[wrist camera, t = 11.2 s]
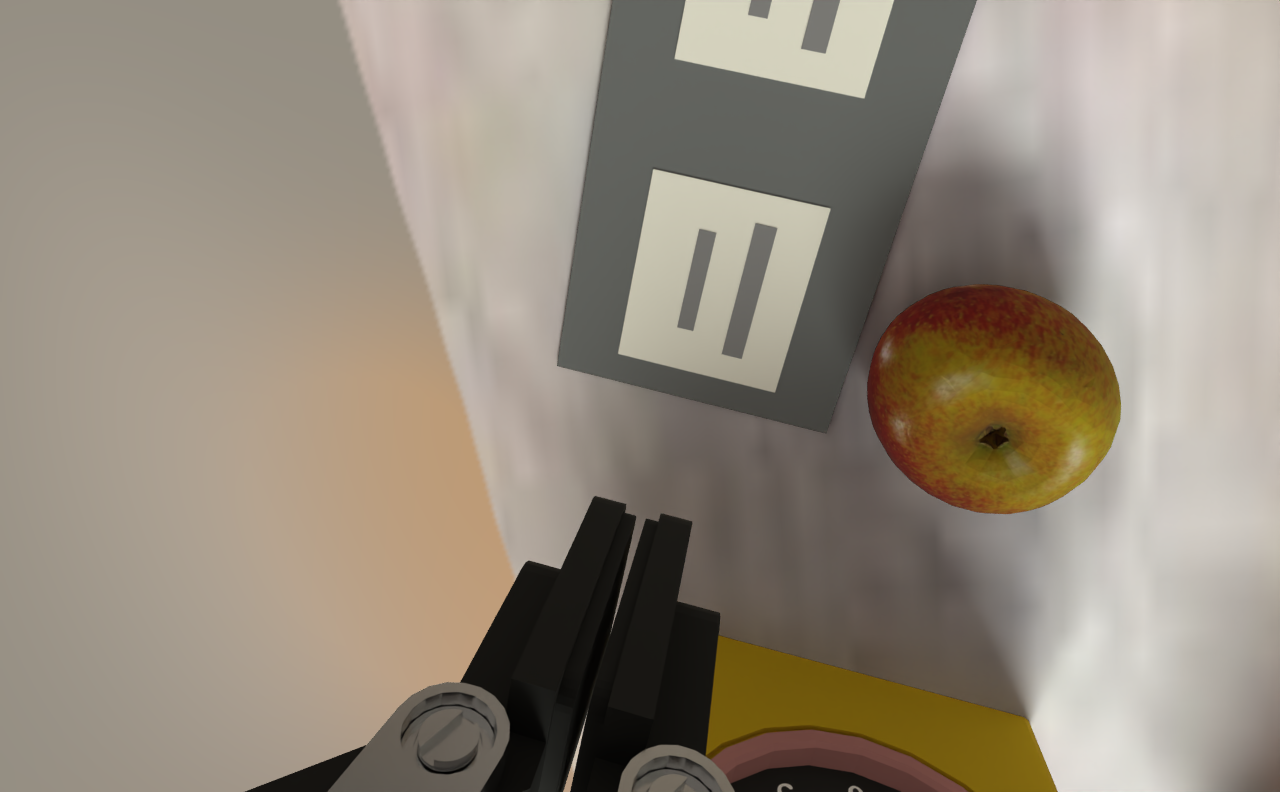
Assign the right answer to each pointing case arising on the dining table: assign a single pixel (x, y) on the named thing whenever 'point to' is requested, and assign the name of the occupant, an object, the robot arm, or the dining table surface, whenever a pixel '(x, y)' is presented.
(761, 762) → the alarm clock
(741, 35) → the label mat
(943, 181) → the dining table surface
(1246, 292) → the dining table surface
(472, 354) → the dining table surface
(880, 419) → the fruit
